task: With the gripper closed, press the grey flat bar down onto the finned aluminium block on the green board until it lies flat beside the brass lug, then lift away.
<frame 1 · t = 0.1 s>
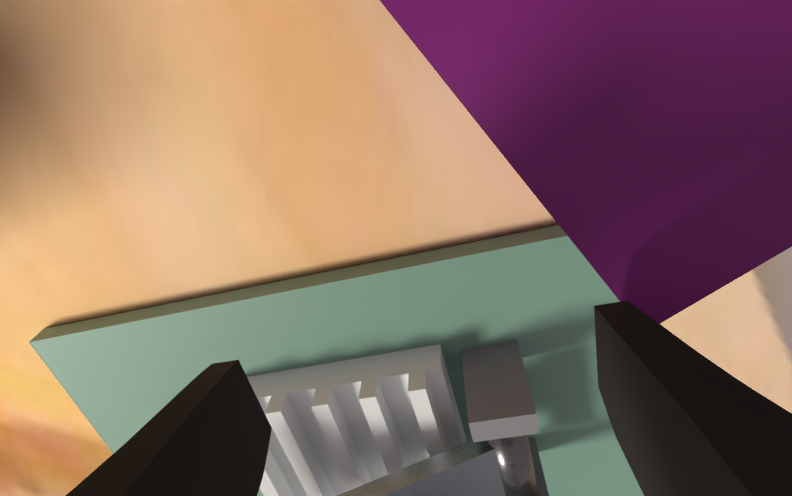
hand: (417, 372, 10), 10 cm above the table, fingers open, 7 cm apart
board: (358, 409, 25), on the table
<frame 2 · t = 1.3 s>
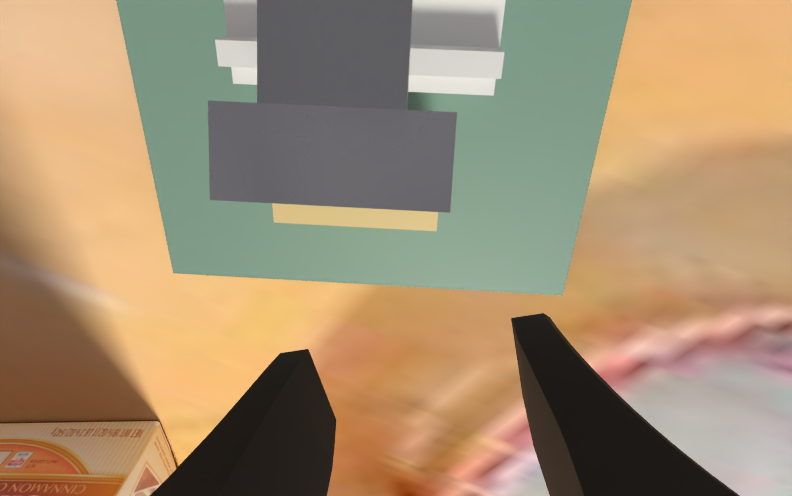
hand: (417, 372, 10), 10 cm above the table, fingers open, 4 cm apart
coffeecake box: (55, 459, 28), on the table
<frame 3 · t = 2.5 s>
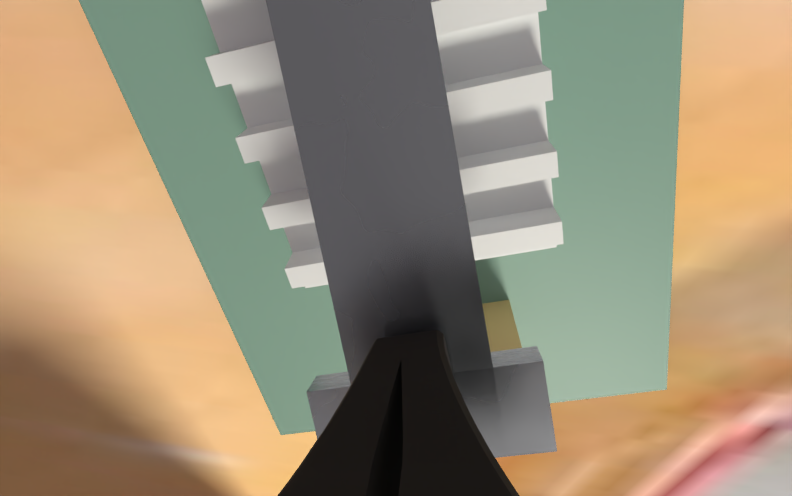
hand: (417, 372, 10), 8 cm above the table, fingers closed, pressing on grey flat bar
board: (395, 92, 15), on the table
grey flat bar: (372, 115, 10), point 6 cm above the table, hinge at 18.0°, touching gripper
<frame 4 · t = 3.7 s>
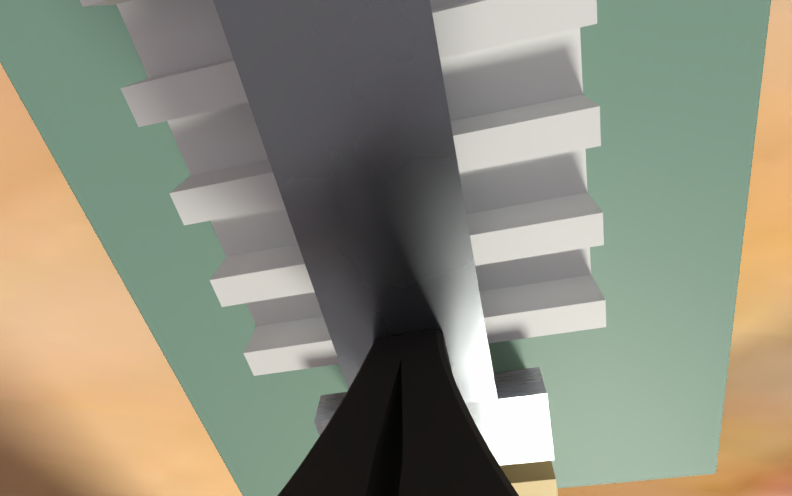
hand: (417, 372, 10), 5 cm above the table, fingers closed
board: (387, 123, 12), on the table
grey flat bar: (366, 159, 8), point 4 cm above the table, hinge at 0.6°
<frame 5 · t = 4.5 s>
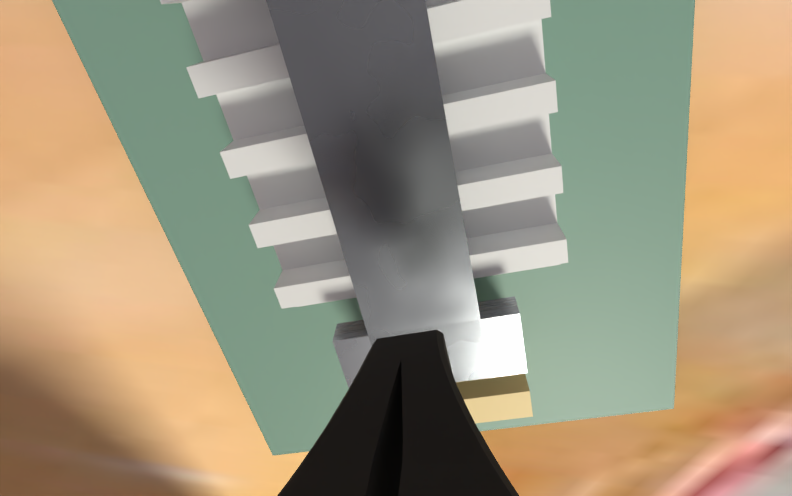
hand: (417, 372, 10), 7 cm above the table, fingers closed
board: (391, 101, 15), on the table
grey flat bar: (376, 121, 11), point 4 cm above the table, hinge at 0.5°
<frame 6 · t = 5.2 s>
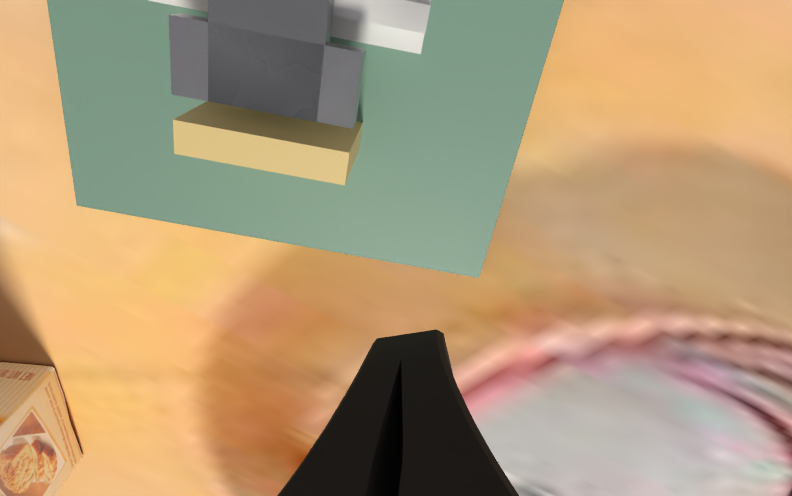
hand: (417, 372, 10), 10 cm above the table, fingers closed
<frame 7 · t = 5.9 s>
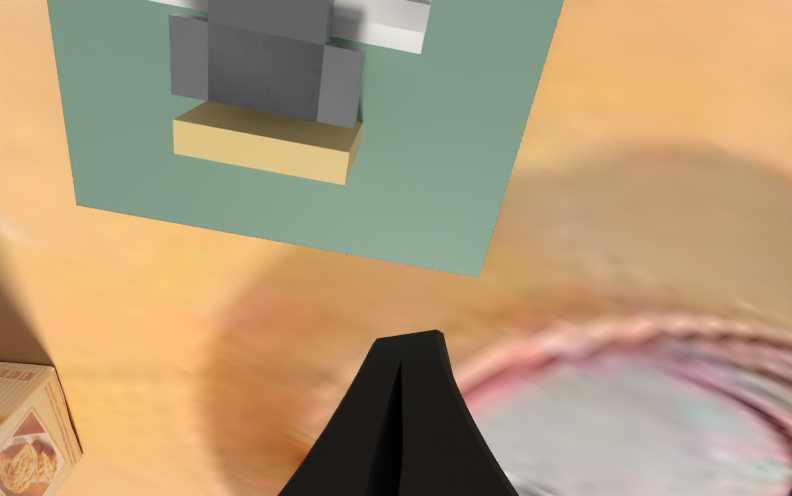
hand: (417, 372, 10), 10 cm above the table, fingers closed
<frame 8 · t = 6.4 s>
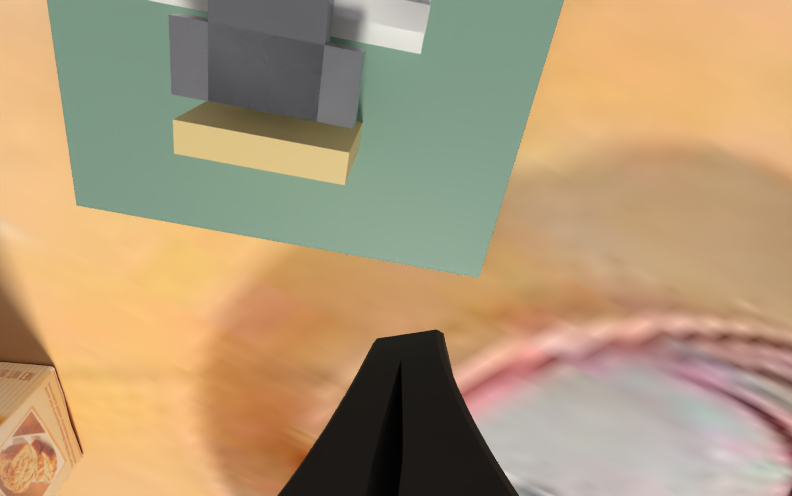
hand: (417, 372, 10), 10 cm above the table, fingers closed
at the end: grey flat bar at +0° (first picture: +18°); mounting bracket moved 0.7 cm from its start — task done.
